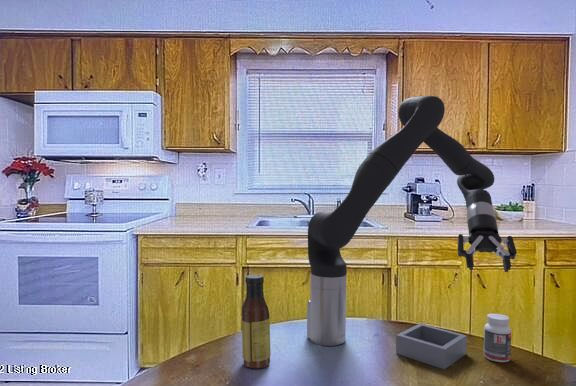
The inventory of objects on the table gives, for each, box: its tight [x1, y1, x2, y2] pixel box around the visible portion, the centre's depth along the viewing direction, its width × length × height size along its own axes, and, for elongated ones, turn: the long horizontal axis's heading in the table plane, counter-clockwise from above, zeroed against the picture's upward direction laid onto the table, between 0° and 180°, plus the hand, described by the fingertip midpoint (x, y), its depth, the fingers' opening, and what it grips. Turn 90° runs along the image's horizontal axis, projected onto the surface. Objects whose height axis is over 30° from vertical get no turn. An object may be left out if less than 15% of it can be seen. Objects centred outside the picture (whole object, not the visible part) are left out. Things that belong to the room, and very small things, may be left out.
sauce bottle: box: [241, 273, 272, 370], centre depth 95 cm, size 7×6×20 cm
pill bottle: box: [483, 312, 512, 363], centre depth 100 cm, size 6×6×10 cm
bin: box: [395, 322, 468, 370], centre depth 102 cm, size 12×12×4 cm
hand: (489, 269), depth 111 cm, fingers open, 8 cm apart
